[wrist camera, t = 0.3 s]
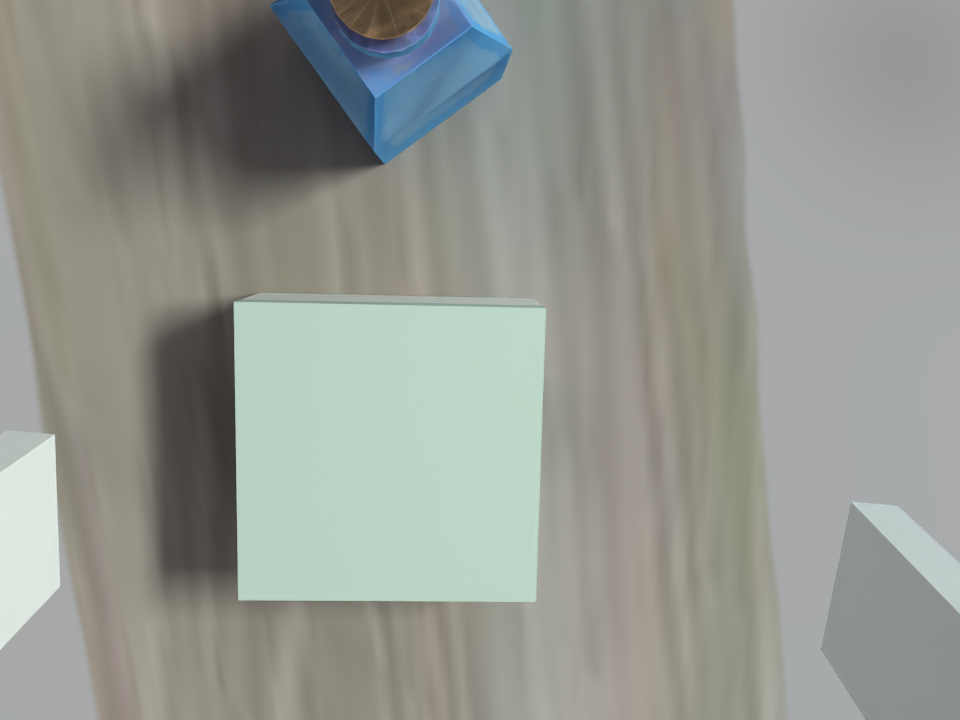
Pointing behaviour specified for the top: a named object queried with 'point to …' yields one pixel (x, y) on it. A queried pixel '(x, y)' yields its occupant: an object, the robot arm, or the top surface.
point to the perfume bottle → (398, 60)
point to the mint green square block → (388, 447)
